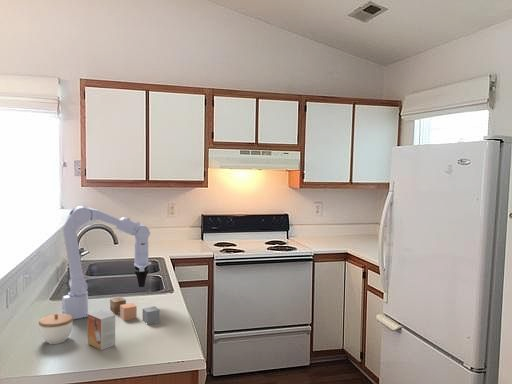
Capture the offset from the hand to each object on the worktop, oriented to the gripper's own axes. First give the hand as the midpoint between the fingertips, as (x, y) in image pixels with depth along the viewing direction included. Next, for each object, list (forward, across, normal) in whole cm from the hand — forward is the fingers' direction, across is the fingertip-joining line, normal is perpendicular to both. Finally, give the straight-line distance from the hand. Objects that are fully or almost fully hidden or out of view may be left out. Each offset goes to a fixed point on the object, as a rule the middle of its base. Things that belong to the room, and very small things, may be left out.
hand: (141, 284), depth 186 cm
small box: (+10, -37, +14) cm, 41 cm away
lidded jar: (+10, -30, +29) cm, 43 cm away
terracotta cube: (+10, -12, +5) cm, 17 cm away
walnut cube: (+10, -3, +10) cm, 14 cm away
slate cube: (+10, -19, -3) cm, 22 cm away
